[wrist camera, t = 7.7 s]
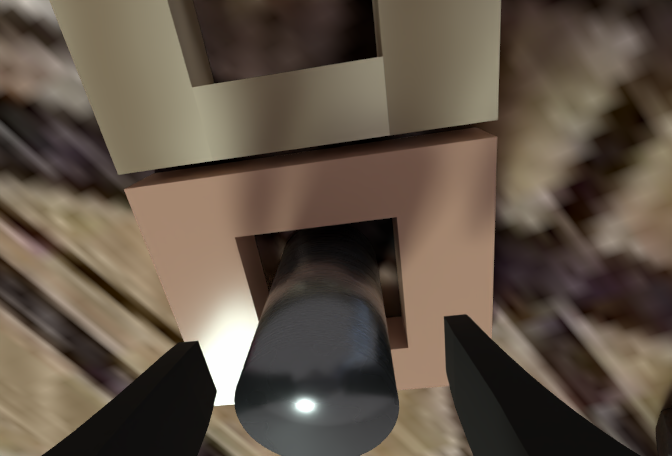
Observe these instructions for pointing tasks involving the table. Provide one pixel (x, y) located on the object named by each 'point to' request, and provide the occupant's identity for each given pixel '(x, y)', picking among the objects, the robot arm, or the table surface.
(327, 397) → the pin
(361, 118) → the pin mount
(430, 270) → the socket block
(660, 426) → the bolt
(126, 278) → the table surface
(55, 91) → the table surface
